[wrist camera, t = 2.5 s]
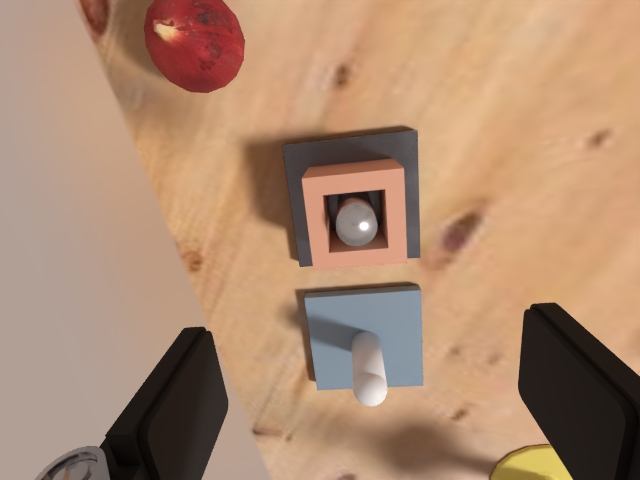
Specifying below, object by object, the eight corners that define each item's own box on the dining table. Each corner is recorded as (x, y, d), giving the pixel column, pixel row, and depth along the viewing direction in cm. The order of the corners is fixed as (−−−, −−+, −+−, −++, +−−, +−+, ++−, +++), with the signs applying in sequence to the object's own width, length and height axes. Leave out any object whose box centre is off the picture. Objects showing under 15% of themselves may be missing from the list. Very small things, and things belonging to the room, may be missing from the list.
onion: (237, -9, 25) (190, -60, 17) (267, 78, 26) (237, 65, 19) (163, 24, 26) (88, -12, 18) (197, 105, 27) (142, 104, 20)
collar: (308, 167, 27) (301, 178, 23) (393, 158, 27) (404, 168, 22) (318, 245, 30) (313, 270, 25) (397, 238, 29) (407, 263, 24)
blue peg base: (305, 292, 32) (293, 346, 25) (418, 284, 31) (441, 337, 24) (317, 382, 35) (311, 453, 28) (420, 378, 35) (441, 449, 27)
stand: (284, 144, 28) (266, 154, 21) (414, 129, 27) (437, 135, 20) (301, 262, 31) (289, 302, 25) (418, 253, 30) (438, 292, 24)
